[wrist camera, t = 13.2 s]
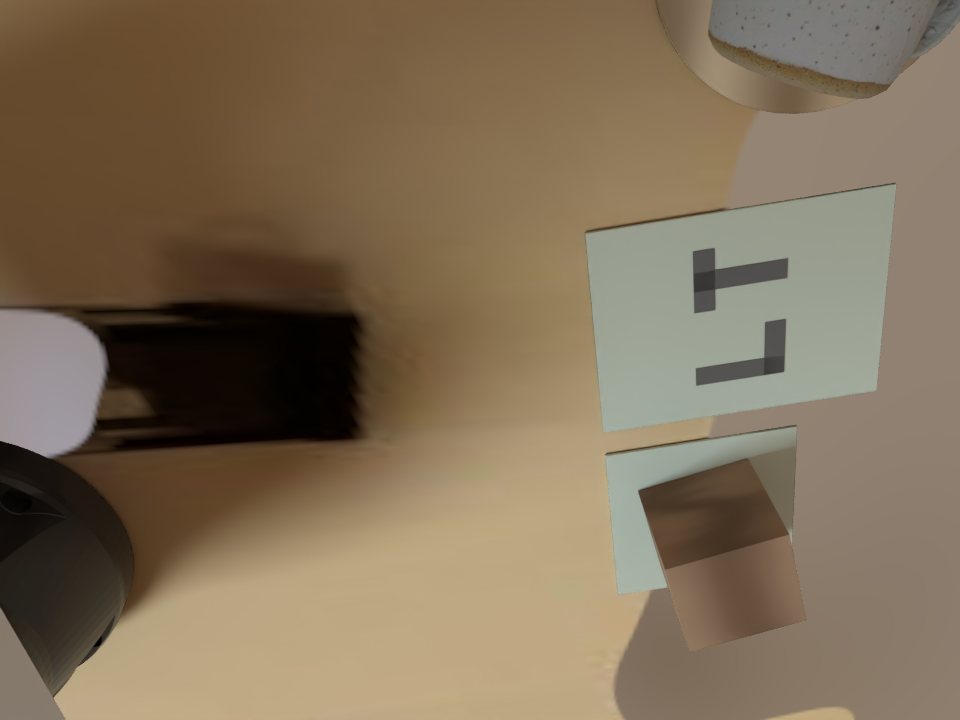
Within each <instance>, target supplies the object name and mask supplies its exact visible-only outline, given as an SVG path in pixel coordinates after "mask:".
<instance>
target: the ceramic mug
mask: <svg viewBox="0 0 960 720" xmlns="http://www.w3.org/2000/svg"><path fill="white" fill-rule="evenodd" d="M959 20H960V0H713V1H712V7H711V13H710V20H709V27H708V36H709V39H710V41H711V44H712V46H713V47H714V49H715V50H716V51H717V52H718V53H719V54H720V55H721V56H723V57H724V58H726V59H728V60H729V61H731V62H733V63H735V64H737V65H739V66H741V67H744V68H746V69H748V70H750V71H753V72H755V73H758V74H761V75H763V76H766V77H769V78H771V79H774V80H777V81H780V82H783V83H786V84H789V85H793V86H797V87H800V88H804V89H808V90H811V91H814V92H818V93H822V94H827V95H833V96H838V97H846V98H853V99H862V98H870V97H872V96H875V95H877V94H879V93H881V92H883V91H885V90H887V89H888V87H889V86H890V85H891V84H892V83H893V81H894V80H895V79H896V78H897V76H898V75H899V74H900V72H901V71H902V69H903V68H904V67H905V65H906V64H907V62H908V61H909V60H910V59H912V58H915V57H919V56H921V55H923V54H925V53H927V52H928V51H929V50H931V49H932V48H933V47H935V46H936V45H937V44H939V43H940V42H941V40H942V39H944V38H945V37H946V36H947V35H948V34H949V33H950V32H951V30H952V29H953V28H954V27H955V25H956V24H957V23H958V22H959Z"/></svg>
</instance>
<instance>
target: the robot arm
mask: <svg viewBox="0 0 960 720" xmlns="http://www.w3.org/2000/svg"><path fill="white" fill-rule="evenodd" d="M133 572H134V562H133V554H132V549H131V545H130V542H129V539H128V536H127V534H126V531H125V529H124V527H123V526H122V524H121V522H120V520H119V519H118V517H117V515H116V514H115V513H114V511H113V510H112V508H111V507H110V506H109V505H108V504H107V502H106V501H105V500H104V499H103V498H102V497H101V496H100V495H99V494H98V493H97V492H96V491H95V490H94V489H93V488H92V487H91V486H90V485H88V484H87V483H86V482H85V481H83V480H82V479H81V478H80V477H78V476H77V475H75V474H74V473H72V472H71V471H69V470H68V469H66V468H65V467H63V466H61V465H60V464H58V463H56V462H54V461H52V460H50V459H48V458H46V457H44V456H42V455H40V454H37V453H35V452H33V451H30V450H28V449H25V448H22V447H19V446H16V445H13V444H9V443H5V442H2V441H0V720H66V719H65V717H64V716H63V714H62V712H61V711H60V709H59V707H58V705H57V704H56V702H55V700H54V699H53V698H54V697H55V695H56V694H57V693H58V692H59V691H60V690H61V689H62V687H63V686H64V685H65V684H66V683H67V681H68V680H69V679H70V677H71V676H72V674H73V673H74V671H75V669H76V668H77V667H78V666H80V665H81V664H83V663H84V662H85V661H86V660H88V659H89V658H90V657H91V656H92V655H93V654H94V653H95V652H96V651H97V650H98V649H99V648H100V647H101V646H102V645H103V644H104V643H105V641H106V640H107V638H108V637H109V636H110V634H111V632H112V631H113V629H114V627H115V626H116V624H117V622H118V619H119V617H120V615H121V612H122V610H123V607H124V604H125V602H126V599H127V597H128V594H129V591H130V588H131V585H132V580H133Z"/></svg>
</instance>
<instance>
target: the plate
mask: <svg viewBox="0 0 960 720" xmlns="http://www.w3.org/2000/svg"><path fill="white" fill-rule="evenodd" d="M796 441H797V426H796V425H792V426H786V427H779V428H774V429H766V430H760V431H753V432H748V433H740V434H734V435H728V436H721V437H715V438H708V439H702V440H695V441H689V442H682V443H676V444H670V445H663V446H657V447H650V448H644V449H637V450H631V451H624V452H618V453H612V454H605V457H606V468H607V479H608V490H609V501H610V512H611V523H612V534H613V545H614V556H615V567H616V578H617V589H618V595H620V594H627V593H634V592H640V591H647V590H653V589H660V588H666V587H668V586H667V583H666V580H665V578H664V575H663V572H662V569H661V565H660V562H659V559H658V556H657V552H656V549H655V546H654V542H653V539H652V536H651V533H650V529H649V526H648V523H647V519H646V516H645V513H644V510H643V506H642V503H641V500H640V497H639V493H638V491H639V490H642V489H645V488H649V487H652V486H656V485H659V484H662V483H666V482H669V481H672V480H676V479H679V478H683V477H686V476H689V475H693V474H696V473H700V472H703V471H706V470H710V469H713V468H716V467H720V466H723V465H727V464H730V463H733V462H737V461H740V460H743V459H747V458H748V459H749V461H750V463H751V465H752V466H753V468H754V470H755V472H756V474H757V476H758V477H759V479H760V481H761V483H762V485H763V487H764V488H765V490H766V492H767V494H768V496H769V498H770V499H771V501H772V503H773V505H774V507H775V509H776V510H777V512H778V514H779V516H780V518H781V520H782V521H783V523H784V525H785V527H786V529H787V531H788V532H789V534H790V539H791V544H792V532H793V511H794V487H795V465H796V443H797V442H796Z"/></svg>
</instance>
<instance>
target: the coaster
mask: <svg viewBox="0 0 960 720" xmlns="http://www.w3.org/2000/svg"><path fill="white" fill-rule="evenodd" d="M712 1H713V0H656V4H657V9H658V13H659V16H660V18H661V21H662V23H663V26H664V29H665V31H666V34H667V36H668V37H669V39H670V41H671V43H672V45H673V46H674V48H675V50H676V52H677V53H678V54H679V56H680V57H681V58H682V60H683V61H684V62H685V64H686V65H687V66H688V67H689V68H690V69H691V70H692V71H693V72H694V73H695V74H696V75H697V76H698V77H699V78H700V79H701V80H702V81H703V82H704V83H706V84H707V85H708V86H710V87H711V88H713V89H714V90H715V91H717V92H718V93H720V94H721V95H723V96H725V97H727V98H729V99H731V100H733V101H734V102H736V103H738V104H741V105H744V106H747V107H750V108H753V109H756V110H762V111H767V112H773V113H789V114H791V113H792V114H798V113H808V112H817V111H821V110H825V109H830V108H834V107H838V106H840V105H843V104H846V103H849V102H852V101H854V100H857V99H853V98H846V97H838V96H833V95H827V94H822V93H818V92H814V91H811V90H808V89H804V88H800V87H797V86H793V85H789V84H786V83H783V82H780V81H777V80H774V79H771V78H769V77H766V76H763V75H761V74H758V73H755V72H753V71H750V70H748V69H746V68H744V67H741V66H739V65H737V64H735V63H733V62H731V61H729V60H728V59H726V58H724V57H723V56H721V55H720V54H719V53H718V52H717V51H716V50H715V49H714V47H713V46H712V44H711V41H710V39H709V36H708V27H709V20H710V13H711V7H712ZM919 57H920V56H919ZM919 57H915V58H912V59H910V60H909V61H908V62H907V64H906V65H905V67H904V68H903V69H902V71H901V72H900V73H902V72H903V71H904V70H905V69H907V68H908V67H909V66H910V65H912V64H913V63H914V62H915V61H916V60H917V59H918V58H919Z"/></svg>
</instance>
